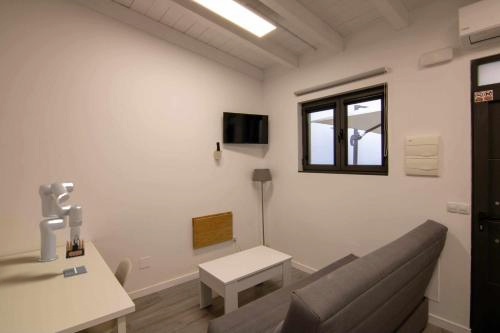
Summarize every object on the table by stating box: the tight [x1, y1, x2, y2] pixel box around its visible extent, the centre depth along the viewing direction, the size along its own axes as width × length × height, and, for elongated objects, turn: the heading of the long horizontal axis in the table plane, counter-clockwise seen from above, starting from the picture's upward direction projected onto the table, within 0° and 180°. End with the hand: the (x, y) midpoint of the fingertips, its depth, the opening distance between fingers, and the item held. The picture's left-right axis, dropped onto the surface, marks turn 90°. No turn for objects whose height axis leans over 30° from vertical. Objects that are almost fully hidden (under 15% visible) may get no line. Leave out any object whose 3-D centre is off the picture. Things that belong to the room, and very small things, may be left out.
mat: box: [63, 265, 88, 278], centre depth 174 cm, size 14×12×1 cm
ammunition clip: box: [65, 238, 86, 260], centre depth 174 cm, size 11×2×12 cm, turn 130°
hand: (75, 250), depth 174 cm, fingers closed on ammunition clip, 1 cm apart
